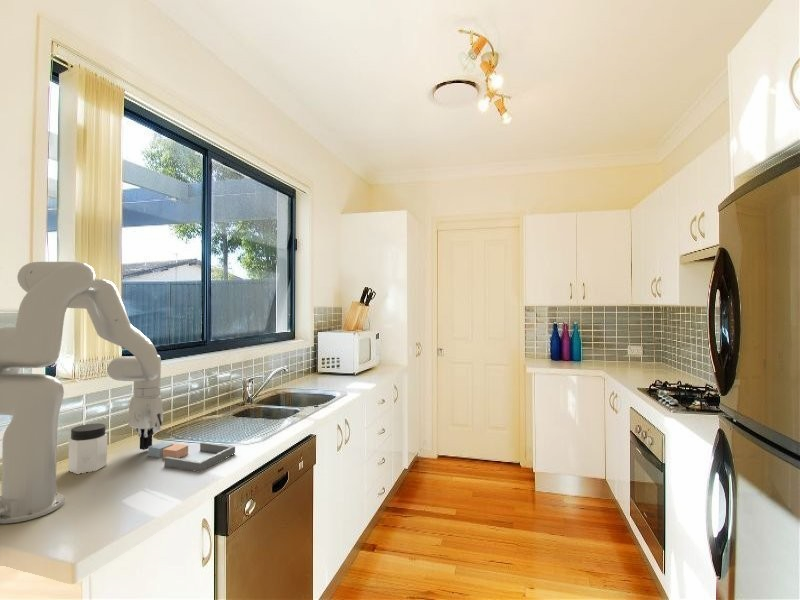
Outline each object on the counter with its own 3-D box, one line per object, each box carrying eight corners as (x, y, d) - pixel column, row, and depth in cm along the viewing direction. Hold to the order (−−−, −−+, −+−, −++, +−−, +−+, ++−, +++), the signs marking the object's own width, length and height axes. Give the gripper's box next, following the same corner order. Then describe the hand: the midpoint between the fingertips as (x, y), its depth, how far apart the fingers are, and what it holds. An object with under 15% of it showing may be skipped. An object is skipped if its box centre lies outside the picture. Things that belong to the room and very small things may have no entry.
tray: (199, 472, 119) (199, 463, 119) (164, 466, 123) (164, 457, 123) (234, 454, 134) (235, 446, 134) (202, 449, 137) (202, 442, 137)
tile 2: (176, 460, 128) (176, 450, 128) (162, 458, 129) (163, 449, 129) (188, 454, 133) (188, 445, 133) (174, 453, 134) (175, 444, 134)
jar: (66, 476, 115) (67, 433, 115) (69, 466, 122) (70, 426, 122) (105, 469, 120) (106, 428, 120) (107, 460, 127) (107, 421, 127)
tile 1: (159, 458, 130) (159, 448, 130) (148, 456, 132) (148, 446, 132) (173, 453, 134) (173, 443, 135) (162, 450, 136) (162, 441, 136)
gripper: (119, 392, 134) (117, 449, 134) (155, 396, 129) (153, 454, 129) (139, 388, 141) (138, 442, 141) (174, 391, 137) (173, 447, 136)
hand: (145, 448), depth 135 cm, fingers closed
